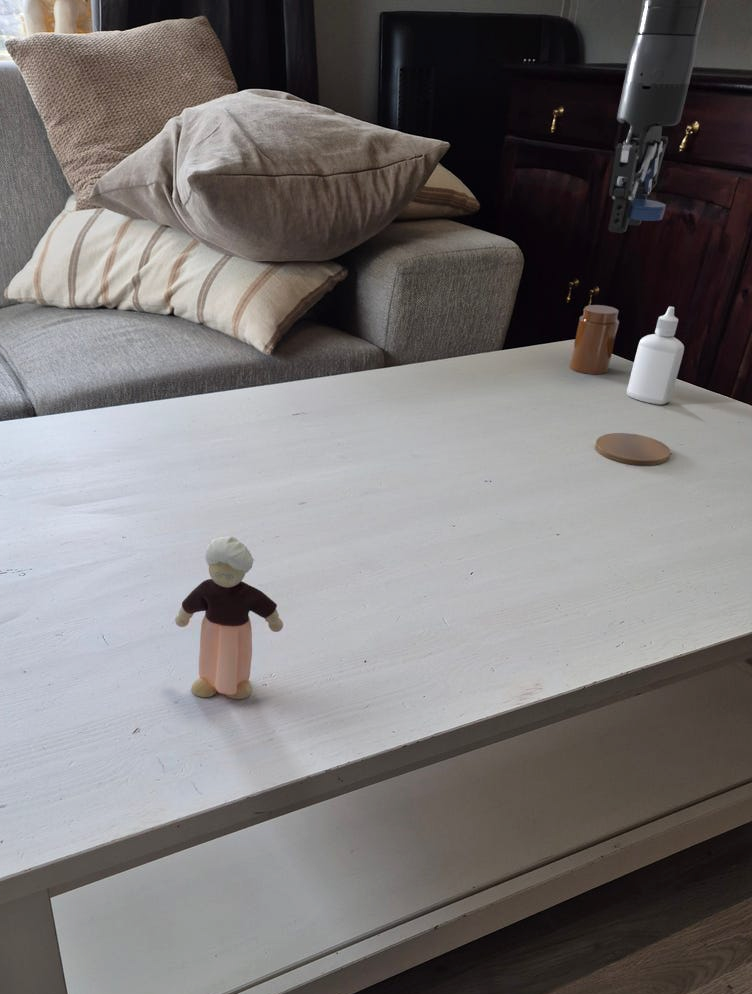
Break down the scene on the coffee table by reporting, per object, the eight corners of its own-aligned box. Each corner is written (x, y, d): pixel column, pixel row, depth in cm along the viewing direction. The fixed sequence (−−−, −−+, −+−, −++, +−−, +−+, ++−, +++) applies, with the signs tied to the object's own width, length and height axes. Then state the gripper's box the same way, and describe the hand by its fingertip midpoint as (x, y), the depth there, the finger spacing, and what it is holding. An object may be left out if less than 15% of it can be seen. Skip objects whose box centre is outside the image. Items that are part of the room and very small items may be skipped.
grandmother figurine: (178, 706, 67) (171, 553, 60) (177, 674, 70) (171, 526, 63) (282, 701, 68) (288, 550, 61) (277, 671, 71) (282, 523, 64)
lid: (659, 223, 117) (663, 209, 116) (612, 216, 118) (616, 203, 117) (664, 215, 121) (668, 202, 120) (619, 209, 123) (622, 196, 122)
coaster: (645, 435, 113) (647, 431, 113) (683, 463, 106) (685, 458, 106) (582, 439, 111) (583, 434, 111) (616, 467, 105) (617, 462, 104)
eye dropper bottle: (645, 407, 121) (670, 314, 114) (621, 393, 126) (643, 302, 119) (674, 404, 122) (700, 312, 115) (649, 390, 127) (672, 300, 120)
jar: (586, 360, 137) (598, 302, 133) (615, 370, 134) (629, 311, 129) (561, 366, 135) (573, 307, 130) (591, 376, 131) (604, 316, 126)
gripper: (643, 75, 118) (613, 217, 128) (607, 79, 109) (577, 233, 118) (703, 78, 115) (668, 224, 125) (672, 83, 105) (636, 240, 115)
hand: (624, 227), depth 121 cm, fingers closed on lid, 5 cm apart
